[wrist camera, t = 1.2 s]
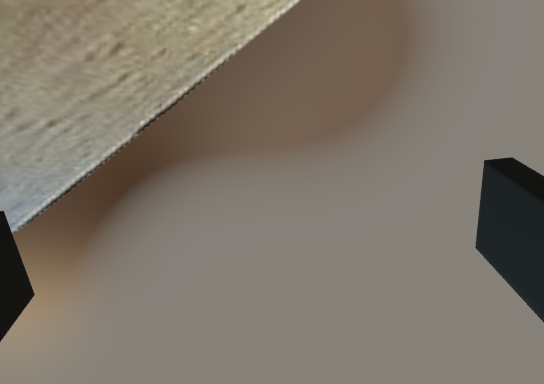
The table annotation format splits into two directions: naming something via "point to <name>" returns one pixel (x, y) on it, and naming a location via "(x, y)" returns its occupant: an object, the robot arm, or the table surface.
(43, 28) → the table surface
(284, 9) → the table surface
